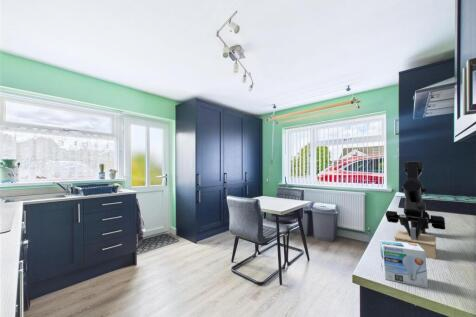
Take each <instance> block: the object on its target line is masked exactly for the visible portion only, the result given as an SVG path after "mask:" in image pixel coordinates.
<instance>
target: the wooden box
mask: <svg viewBox="0 0 476 317" xmlns="http://www.w3.org/2000/svg"><path fill="white" fill-rule="evenodd" d="M394 239H395V240H394V241H397V242H406V243H415V244H418V245H419V246H420V247H421V248H422V249H423V250H424V251H425V254H426V258H429V259H434V260H436V259H437V242H435V245H429V244H424V243H418V242H413V241H407V240H402V239H396V238H394Z"/></svg>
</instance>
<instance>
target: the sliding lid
mask: <svg viewBox="0 0 476 317" xmlns="http://www.w3.org/2000/svg"><path fill="white" fill-rule="evenodd" d="M410 234H411V237H409V235H408V232H407V230H406V231H405V230H401V229H399V230H398V231H397V232H396V233H395V235H394V238H393V239H395V238H396V239H402V240H407V241H413V242H418V243H424V244H429V245H435V242H436V241H437V237H436V235H432V234H427V235H426V234H420V235H419V237H418V238H416V228H413V227H411V226H410ZM436 243H437V242H436Z"/></svg>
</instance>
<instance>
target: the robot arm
mask: <svg viewBox="0 0 476 317" xmlns="http://www.w3.org/2000/svg"><path fill="white" fill-rule="evenodd" d="M402 168H403V169H402V170H404V171H405V174H406V175H407V178H406V179H405V180H404V181H403V182H404V184H403V185H402V186H401V193H404V194H403V195H404V197H405V201H403V213H399V214H398V211H394V210H386V212H385V217H386V221H387V222H388V223H393V224H397V223H400V224H399V225H400V226H403V227H404V228H405V230H406V231H407V232H408V235H409V237H411V234H410V228H411V227H413V228H416V238H418V237H419V235H420V234H426V235H428V232H427V231H426V230H428V229H429V224H431V227H432V228H433V229H436V230H446V221H445V217H443V216H442V215H433V214H429V213H428V211H427V206H426V202H425V201H423V194H425V193H426V192H427V188H425V186H424V185H422V184H423V183H422V181H421V180H420V176H421V175H423V171H422V170H424V163H423V162H421V161H419V160H418V161H406V162H403V163H402ZM409 222H410V223H409Z"/></svg>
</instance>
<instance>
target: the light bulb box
mask: <svg viewBox="0 0 476 317" xmlns="http://www.w3.org/2000/svg"><path fill="white" fill-rule="evenodd" d="M379 246H380V247H379V248H380V261H381V262H380V264H381V272H382V274H383V277H384V279H385V280H386V281H392V282H398V283H402V284H407V285H411V286H416V287H422V288H426V289H428V288H429V286H428V284H429V283H428V272H427V271H428V269H427V259H426V258H427V257H426V254H425V251H424V250H423V249H422V248H421V247H420V246H419V245H418V244H415V243H406V242H397V241H395V240H387V239H379Z"/></svg>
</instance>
